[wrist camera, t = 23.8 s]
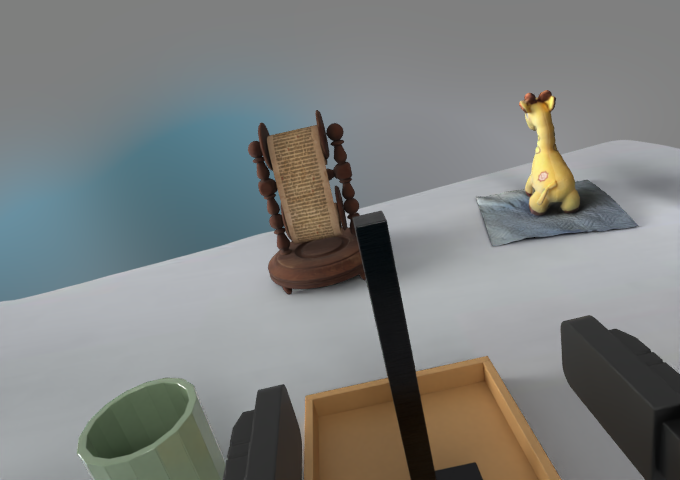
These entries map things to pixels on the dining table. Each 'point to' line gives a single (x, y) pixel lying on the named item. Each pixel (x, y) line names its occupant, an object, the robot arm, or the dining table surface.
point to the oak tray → (441, 421)
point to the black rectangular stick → (399, 350)
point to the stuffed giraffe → (549, 192)
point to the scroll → (308, 206)
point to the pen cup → (152, 436)
